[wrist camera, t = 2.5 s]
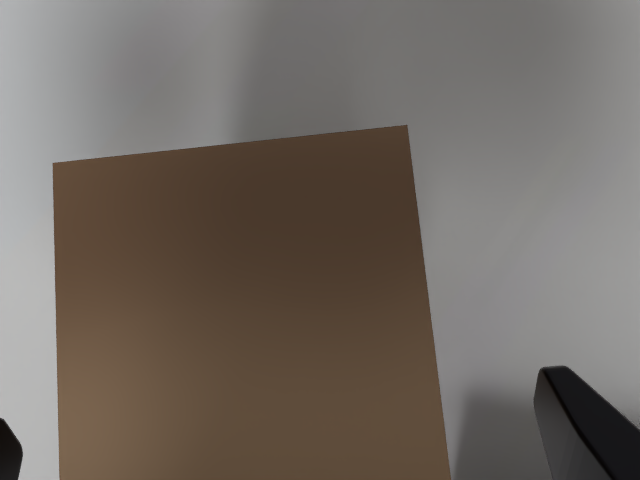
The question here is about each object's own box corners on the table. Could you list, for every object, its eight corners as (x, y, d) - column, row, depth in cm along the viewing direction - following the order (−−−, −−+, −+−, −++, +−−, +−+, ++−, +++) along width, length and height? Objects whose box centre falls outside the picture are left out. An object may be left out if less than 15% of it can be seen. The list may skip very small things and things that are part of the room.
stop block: (391, 401, 18) (454, 507, 7) (232, 416, 18) (60, 540, 7) (374, 243, 19) (407, 124, 8) (221, 258, 19) (52, 162, 8)
